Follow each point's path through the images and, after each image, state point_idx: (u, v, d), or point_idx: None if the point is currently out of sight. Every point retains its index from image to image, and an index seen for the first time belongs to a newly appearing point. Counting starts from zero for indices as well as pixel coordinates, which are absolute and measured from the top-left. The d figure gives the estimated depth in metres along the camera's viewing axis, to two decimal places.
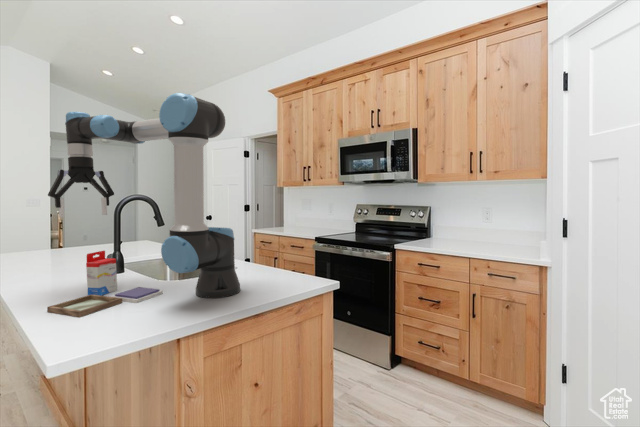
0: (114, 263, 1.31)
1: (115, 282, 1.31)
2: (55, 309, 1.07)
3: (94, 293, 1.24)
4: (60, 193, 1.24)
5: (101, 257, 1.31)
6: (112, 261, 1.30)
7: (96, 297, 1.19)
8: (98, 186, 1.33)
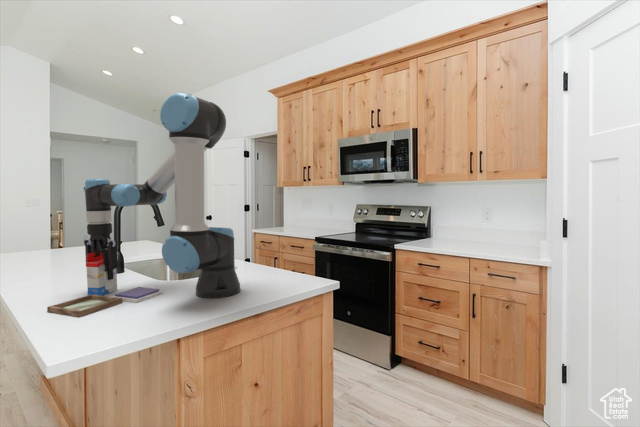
0: None
1: (115, 282, 1.31)
2: (55, 309, 1.07)
3: (94, 293, 1.24)
4: None
5: (101, 257, 1.31)
6: None
7: (96, 297, 1.19)
8: (103, 256, 1.26)
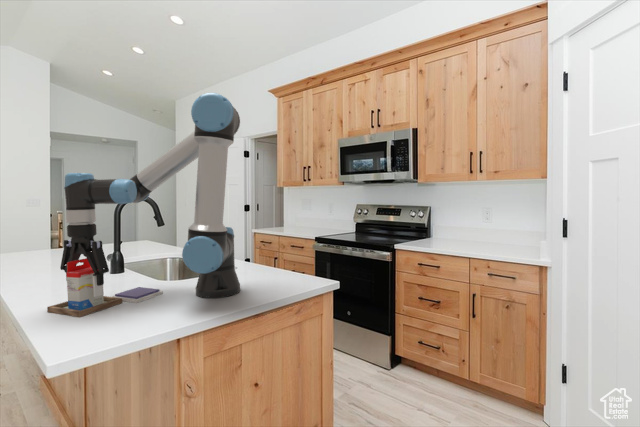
0: None
1: None
2: (55, 309, 1.07)
3: (75, 307, 1.08)
4: (66, 267, 1.13)
5: (86, 265, 1.15)
6: None
7: None
8: (89, 260, 1.09)
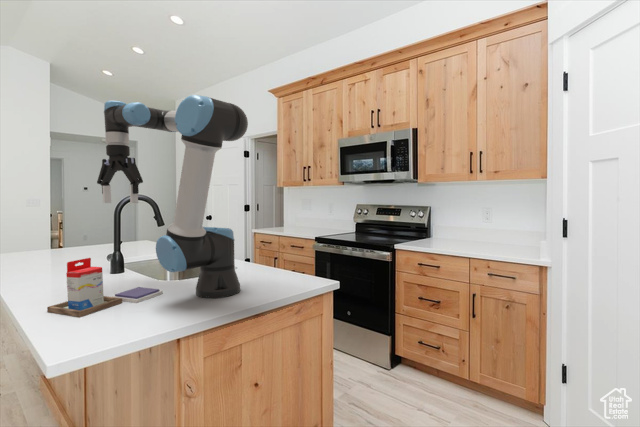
0: (100, 272, 1.14)
1: (101, 294, 1.15)
2: (55, 309, 1.07)
3: (75, 307, 1.08)
4: (102, 181, 1.35)
5: (86, 265, 1.15)
6: (97, 270, 1.13)
7: None
8: (126, 173, 1.30)
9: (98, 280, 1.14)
